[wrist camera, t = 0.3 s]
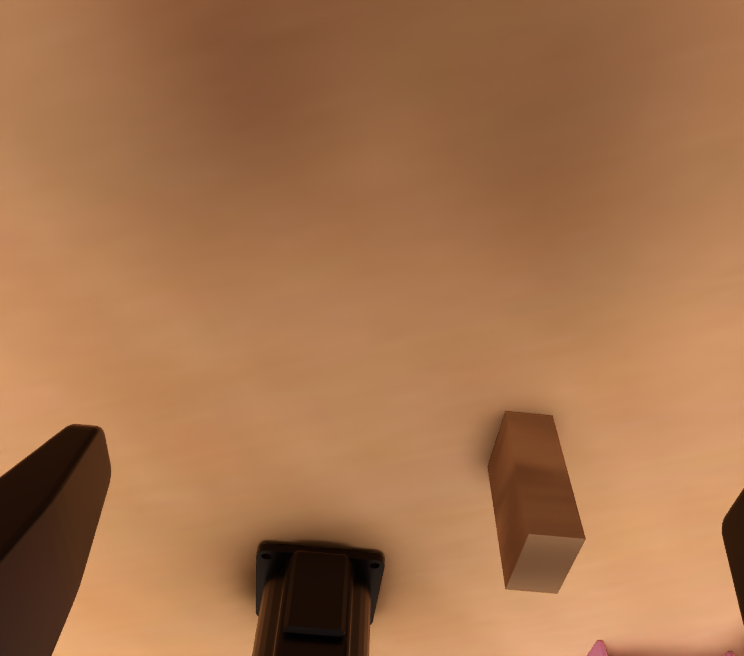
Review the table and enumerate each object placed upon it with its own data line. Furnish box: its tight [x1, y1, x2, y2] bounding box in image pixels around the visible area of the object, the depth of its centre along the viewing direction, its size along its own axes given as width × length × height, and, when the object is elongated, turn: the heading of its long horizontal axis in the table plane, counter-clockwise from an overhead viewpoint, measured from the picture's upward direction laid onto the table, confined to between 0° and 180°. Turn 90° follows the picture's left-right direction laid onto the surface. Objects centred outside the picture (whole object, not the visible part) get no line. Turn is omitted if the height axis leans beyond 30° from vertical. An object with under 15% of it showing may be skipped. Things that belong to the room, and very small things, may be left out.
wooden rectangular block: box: [488, 411, 586, 594], centre depth 26 cm, size 4×2×6 cm, turn 174°
